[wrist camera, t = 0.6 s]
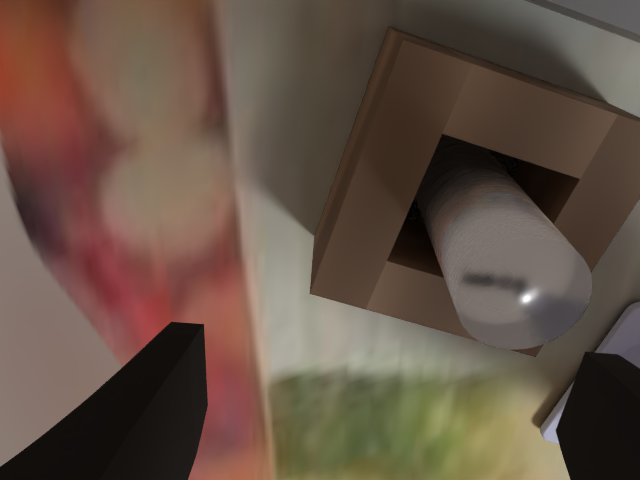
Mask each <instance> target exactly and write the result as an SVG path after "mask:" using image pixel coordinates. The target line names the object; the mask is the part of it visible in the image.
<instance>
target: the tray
mask: <svg viewBox="0 0 640 480" xmlns="http://www.w3.org/2000/svg"><path fill="white" fill-rule="evenodd" d="M526 1H528V2H531V3H534V4H537V5H539V6H542V7H545V8H547V9H550V10H553V11H556V12H558V13H561V14H564V15H566V16H569V17H572V18H574V19H577V20H580V21H583V22H585V23H588V24H591V25H593V26H596V27H599V28H602V29H604V30H607V31H610V32H612V33H615V34H618V35H621V36H623V37H626V38H629V39H631V40H634V41H637V42H639V43H640V0H526Z"/></svg>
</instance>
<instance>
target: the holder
mask: <svg viewBox="0 0 640 480" xmlns="http://www.w3.org/2000/svg"><path fill="white" fill-rule="evenodd" d="M442 134H445V135H448V136H451V137H454V138H457V139H460V140H463V141H466V142H469V143H472V144H475V145H478V146H481V147H484V148H487V149H490V150H493V151H497V152H500V153H503V154H506V155H509V156H512V157H515V158H518V159H521V160H520V162H519V164H518V166H517V168H516V170H515V172H514V174H513V176H512V178H513V179H514V181H515V182H516V183H517V184H518V185H519V186H520V187H521V188H522V190H523V191H524V192H525V193H526V194H527V195H528V196H529V198H530V199H531V200H532V201H533V202H534V203H535V204H536V205H537V207H538V208H539V209H540V210H541V211H542V212H543V213H544V214H545V216H546V217H547V218H548V219H549V220H550V221H551V222H552V223H553V225H554V226H555V227H556V228H557V229H558V230H559V231H560V233H561V234H562V235H563V236H564V237H565V238H566V239H567V240H568V242H569V243H570V244H571V245H572V246H573V247H574V248H575V249H576V251H577V252H578V253H579V254H580V255H581V256H582V257H583V258H584V260H585V262H586V263H587V265H588V267H589V269H590V272H592V270H593V269H594V267H595V265H596V264H597V262H598V261H599V259H600V258H601V256H602V255H603V253H604V252H605V250H606V249H607V247H608V246H609V244H610V243H611V241H612V240H613V238H614V237H615V235H616V234H617V232H618V231H619V229H620V228H621V226H622V224H623V223H624V221H625V220H626V218H627V217H628V215H629V214H630V212H631V211H632V209H633V208H634V206H635V205H636V203H637V202H638V200H639V199H640V118H639V117H637V116H635V115H633V114H630V113H628V112H626V111H624V110H622V109H619V108H617V107H615V106H613V105H611V104H608V103H605V102H603V101H600V100H597V99H594V98H591V97H588V96H585V95H583V94H580V93H577V92H574V91H571V90H568V89H566V88H563V87H560V86H557V85H554V84H551V83H548V82H546V81H543V80H540V79H537V78H534V77H531V76H528V75H526V74H523V73H520V72H517V71H514V70H511V69H508V68H506V67H503V66H500V65H497V64H494V63H491V62H488V61H486V60H483V59H480V58H477V57H474V56H471V55H469V54H466V53H463V52H460V51H457V50H454V49H451V48H449V47H446V46H443V45H440V44H437V43H434V42H431V41H429V40H426V39H423V38H420V37H417V36H414V35H411V34H409V33H406V32H403V31H400V30H397V29H394V28H391V27H389V26H388V29H387V32H386V35H385V37H384V40H383V43H382V46H381V49H380V52H379V54H378V57H377V60H376V63H375V66H374V69H373V72H372V74H371V77H370V80H369V83H368V86H367V89H366V92H365V94H364V97H363V100H362V103H361V106H360V109H359V111H358V114H357V117H356V120H355V123H354V126H353V129H352V131H351V134H350V137H349V140H348V143H347V146H346V149H345V151H344V154H343V157H342V160H341V163H340V166H339V168H338V171H337V174H336V177H335V180H334V183H333V186H332V188H331V191H330V194H329V197H328V200H327V203H326V206H325V208H324V211H323V214H322V217H321V220H320V223H319V225H318V228H317V231H316V234H315V237H314V248H313V261H312V273H311V286H310V294H313V295H316V296H320V297H323V298H327V299H330V300H334V301H338V302H341V303H345V304H348V305H352V306H355V307H359V308H363V309H366V310H370V311H373V312H377V313H380V314H384V315H388V316H391V317H395V318H398V319H402V320H405V321H409V322H412V323H416V324H420V325H423V326H427V327H430V328H434V329H437V330H441V331H445V332H448V333H452V334H455V335H459V336H462V337H466V338H470V339H473V340H477V339H475V338H474V337H473V336H471V335H470V334H469V333H468V332H467V331H466V329H465V328H464V327H463V325H462V323H461V322H460V319H459V317H458V314H457V311H456V309H455V306H454V303H453V300H452V298H451V295H450V292H449V289H448V287H447V284H446V281H445V278H444V276H443V273H442V270H441V267H440V265H439V262H438V259H437V256H436V254H435V251H434V248H433V246H432V243H431V240H430V237H429V235H428V232H427V229H426V226H425V224H424V223H422V222H418V221H415V220H412V219H409V218H406V216H407V214H408V211H409V209H410V207H411V204H412V202H413V200H414V197H415V195H416V193H417V191H418V188H419V186H420V184H421V181H422V179H423V177H424V175H425V172H426V170H427V168H428V165H429V163H430V161H431V158H432V156H433V154H434V152H435V149H436V147H437V145H438V142H439V140H440V138H441V136H442ZM477 341H478V340H477ZM542 346H543V344H542V345H539V346H536V347H532V348H527V349H518V350H512V351H516V352H520V353H523V354H527V355H530V356H534V357H536V355H537V354H538V352H539V351H540V349H541V347H542Z"/></svg>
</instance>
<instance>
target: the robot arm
mask: <svg viewBox="0 0 640 480" xmlns="http://www.w3.org/2000/svg"><path fill="white" fill-rule="evenodd" d="M207 406H208V401H207V380H206V360H205V339H204V324H192V323H179V322H171V323H170V324H169V325H167V326H166V327H165V328H164V329H163V330H162V331H161V332H160V333H159V334H158V335H156V336H155V337H154V338H153V339H152V340H151V341H150V342H149V343H148V344H147V345H146V346H145V347H144V348H143V349H142V350H141V351H140V352H139V353H138V354H136V355H135V356H134V357H133V358H132V359H131V360H130V361H129V362H128V363H127V364H126V365H125V366H124V367H122V368H121V369H120V370H119V371H118V372H117V373H116V374H115V375H114V376H112V377H111V378H110V379H109V380H108V381H107V382H106V383H105V384H103V385H102V386H101V387H100V388H99V389H98V390H97V391H96V392H95V393H93V394H92V395H91V396H90V397H89V398H88V399H87V400H85V401H84V402H83V403H82V404H81V405H79V406H78V407H77V408H76V409H74V410H73V411H72V412H71V413H70V414H68V415H67V416H66V417H65V418H63V419H62V420H61V421H60V422H59V423H57V424H56V425H55V426H54V427H52V428H51V429H50V430H49V431H47V432H46V433H45V434H44V435H42V436H41V437H40V438H39V439H37V440H36V441H35V442H33V443H32V444H31V445H30V446H28V447H27V448H25V449H24V450H23V451H21V452H20V453H19V454H18V455H16V456H15V457H13V458H12V459H11V460H9V461H8V462H7V463H5V464H4V465H2V466H1V467H0V480H188V477H189V475H190V472H191V469H192V466H193V463H194V460H195V457H196V454H197V450H198V445H199V441H200V437H201V433H202V429H203V424H204V420H205V415H206V411H207ZM540 433H541V435H542V437H543V438H544V439H545V440H547V441H550V442H554V443H557V444H560V448H561V451H562V454H563V458H564V461H565V464H566V467H567V470H568V473H569V476H570V479H571V480H640V302H637V303H633V304H631V305H630V306H628V307H627V308H626V310H625V311H624V312H623V314H622V315H621V317H620V318H619V319H618V321H617V322H616V323H615V325H614V326H613V328H612V329H611V330H610V332H609V333H608V335H607V336H606V337H605V339H604V340H603V341H602V343H601V344H600V346H599V347H598V348H597V350H596V351H595V352H585V354H584V357H583V360H582V362H581V365H580V367H579V370H578V373H577V375H576V378H575V380H574V381H573V383H572V384H571V386H570V387H569V388H568V390H567V391H566V393H565V394H564V395H563V397H562V398H561V399H560V401H559V402H558V404H557V405H556V406H555V408H554V409H553V410H552V412H551V413H550V415H549V416H548V417H547V419H546V420H545V422H544V423H543V424H542V426H541V428H540Z"/></svg>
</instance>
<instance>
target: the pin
mask: <svg viewBox="0 0 640 480" xmlns="http://www.w3.org/2000/svg"><path fill="white" fill-rule="evenodd" d="M415 199H416V202H417V204H418V207H419V210H420V213H421V215H422V218H423V221H424V224H425V226H426V229H427V232H428V235H429V237H430V240H431V243H432V246H433V248H434V251H435V254H436V256H437V259H438V262H439V265H440V267H441V270H442V273H443V276H444V278H445V281H446V284H447V287H448V289H449V292H450V295H451V298H452V300H453V303H454V306H455V309H456V311H457V314H458V317H459V319H460V322H461V323H462V325H463V327H464V328H465V329H466V331H467V332H468V333H469V334H470V335H471V336H473V337H474V338H475V339H477V340H478V341H480V342H482V343H484V344H486V345H489V346H492V347H496V348H500V349H509V350H518V349H527V348H532V347H536V346H539V345H542V344H545V343H547V342H550V341H552V340H554V339H556V338H557V337H559V336H561V335H562V334H564V333H565V332H566V331H568V330H569V329H570V328H571V327H572V326H573V325H574V324H575V323H576V322H577V321H578V320H579V319H580V317H581V316H582V315H583V313H584V312H585V310H586V308H587V306H588V304H589V301H590V298H591V294H592V286H593V285H592V276H591V272H590V269H589V267H588V265H587V263H586V262H585V260H584V258H583V257H582V256H581V255H580V254H579V253H578V252H577V251H576V249H575V248H574V247H573V246H572V245H571V244H570V243H569V242H568V240H567V239H566V238H565V237H564V236H563V235H562V234H561V233H560V231H559V230H558V229H557V228H556V227H555V226H554V225H553V223H552V222H551V221H550V220H549V219H548V218H547V217H546V216H545V214H544V213H543V212H542V211H541V210H540V209H539V208H538V207H537V205H536V204H535V203H534V202H533V201H532V200H531V199H530V198H529V196H528V195H527V194H526V193H525V192H524V191H523V190H522V188H521V187H520V186H519V185H518V184H517V183H516V182H515V181H514V179H513V178H512V177H511V176H510V175H509V174H508V173H507V172H506V170H505V169H504V168H503V167H502V166H501V165H500V164H499V162H498V161H497V160H496V159H495V158H494V157H493V156H492V155H491V153H490V152H489V151H488V150H487V149H486V148H484V147H481V146H478V145H475V144H472V143H469V142H466V141H463V140H460V139H457V138H454V137H451V136H444V137H441V138H440V140H439V142H438V145H437V147H436V149H435V152H434V154H433V156H432V158H431V161H430V163H429V165H428V168H427V170H426V172H425V175H424V177H423V179H422V181H421V184H420V186H419V188H418V191H417V193H416V195H415Z"/></svg>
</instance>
